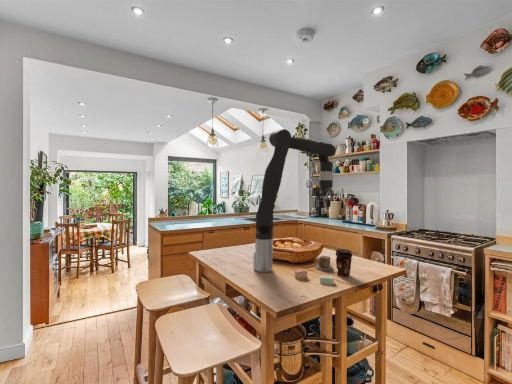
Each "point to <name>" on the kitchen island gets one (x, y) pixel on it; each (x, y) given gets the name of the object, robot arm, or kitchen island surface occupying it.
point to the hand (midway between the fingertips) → (325, 207)
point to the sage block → (326, 279)
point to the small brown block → (301, 274)
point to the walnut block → (324, 262)
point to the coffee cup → (343, 262)
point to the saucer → (324, 268)
